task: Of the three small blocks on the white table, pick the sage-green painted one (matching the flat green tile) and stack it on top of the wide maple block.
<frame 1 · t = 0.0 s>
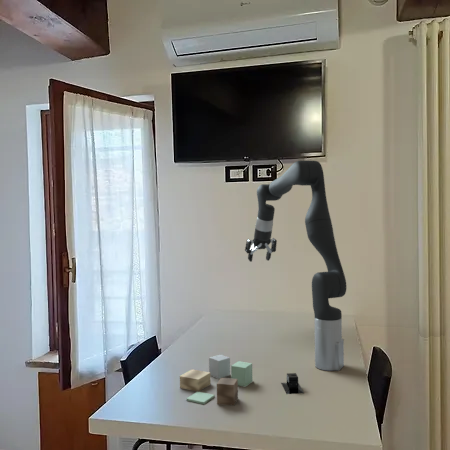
hand: (258, 260, 223), 31 cm above the table, tool tilted 20°, fingers open, 8 cm apart
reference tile: (200, 398, 145), on the table
grey block: (219, 375, 165), on the table
green block: (242, 382, 158), on the table
maple base: (195, 386, 156), on the table
black piece: (292, 390, 152), on the table
walnut block: (227, 401, 143), on the table
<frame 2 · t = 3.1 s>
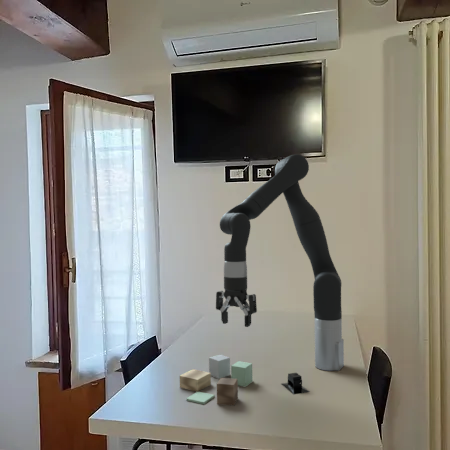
hand: (236, 324, 159), 18 cm above the table, tool pointing down, fingers open, 8 cm apart
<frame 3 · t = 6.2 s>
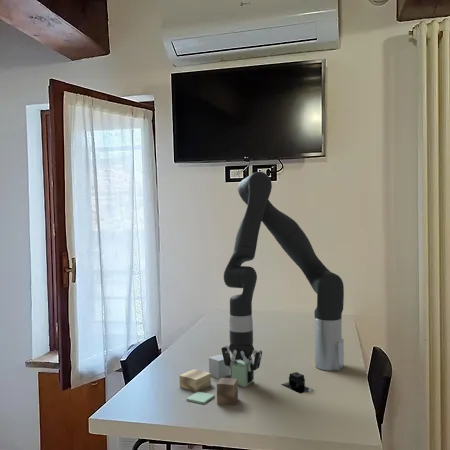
hand: (242, 380, 158), 1 cm above the table, tool pointing down, fingers closed on green block, 5 cm apart
green block: (242, 382, 158), on the table, touching gripper
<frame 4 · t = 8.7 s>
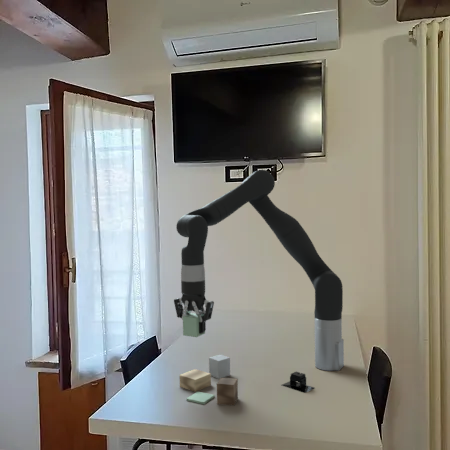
hand: (194, 332, 155), 17 cm above the table, tool pointing down, fingers closed on green block, 5 cm apart
green block: (194, 334, 155), point 16 cm above the table, touching gripper
when the fingers open (6 cm above the table, at t = 11.6 s): green block drops 1 cm, resting on maple base.
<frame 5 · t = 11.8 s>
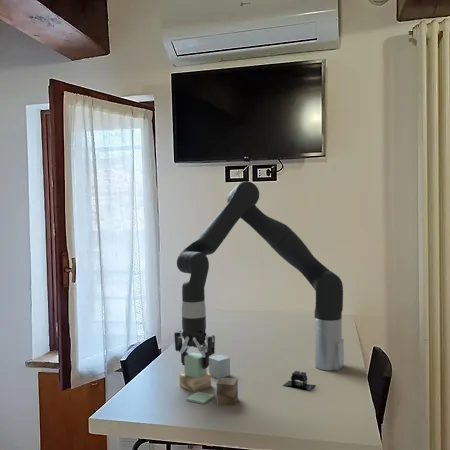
hand: (195, 366, 155), 6 cm above the table, tool pointing down, fingers open, 7 cm apart
green block: (195, 374, 156), point 4 cm above the table, touching maple base
maple base: (195, 386, 156), on the table, touching green block
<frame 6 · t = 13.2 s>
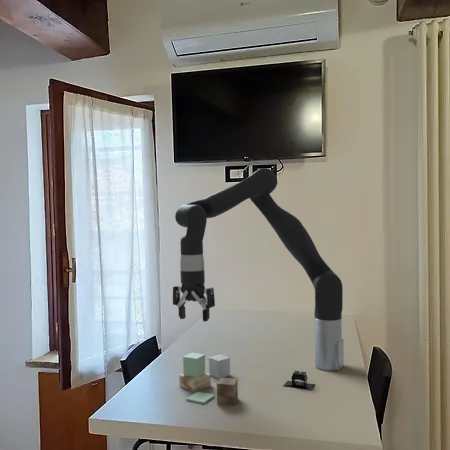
hand: (193, 319, 155), 21 cm above the table, tool pointing down, fingers open, 8 cm apart
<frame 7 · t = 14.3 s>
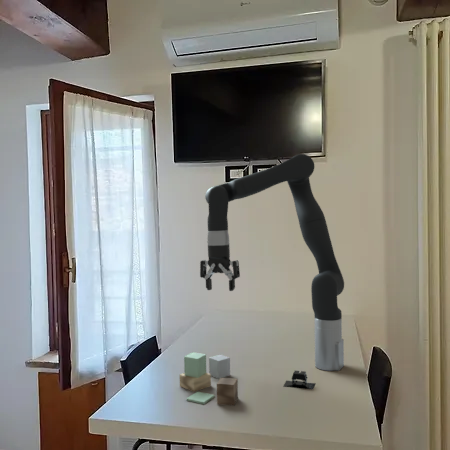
hand: (220, 290, 170), 28 cm above the table, tool pointing down, fingers open, 8 cm apart
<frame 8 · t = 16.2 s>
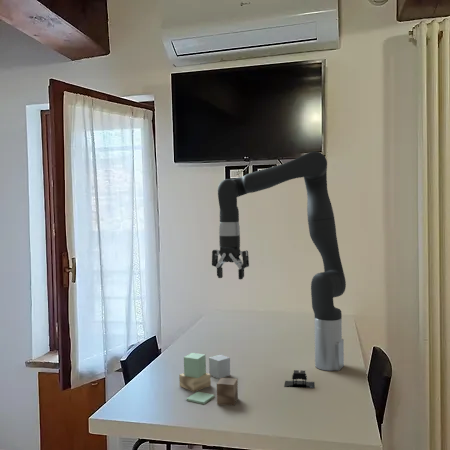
hand: (230, 278, 180), 30 cm above the table, tool pointing down, fingers open, 8 cm apart
at the end: green block 0.2 cm off-centre on the maple base, point 4.0 cm above the maple base's base; green block tilted 0°; the gripper is holding nothing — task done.
